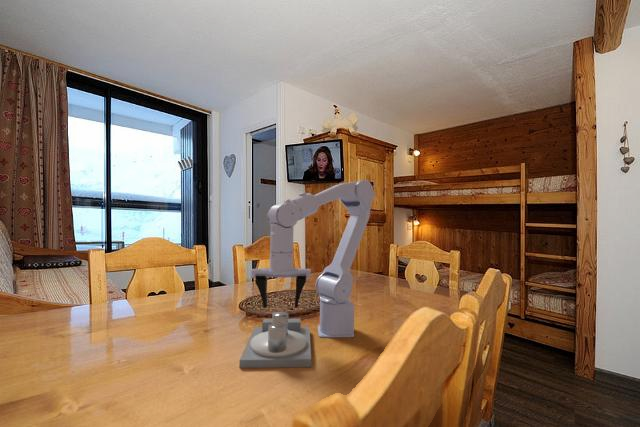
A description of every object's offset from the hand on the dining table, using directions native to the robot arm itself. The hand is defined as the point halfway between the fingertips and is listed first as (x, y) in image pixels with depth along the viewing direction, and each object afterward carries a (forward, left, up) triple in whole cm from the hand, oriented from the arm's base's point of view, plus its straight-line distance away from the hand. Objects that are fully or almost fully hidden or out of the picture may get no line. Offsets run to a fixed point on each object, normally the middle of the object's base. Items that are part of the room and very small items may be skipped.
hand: (280, 306), depth 72 cm
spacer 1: (0, 0, -7) cm, 7 cm away
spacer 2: (0, +8, -7) cm, 11 cm away
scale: (0, +2, -10) cm, 10 cm away
